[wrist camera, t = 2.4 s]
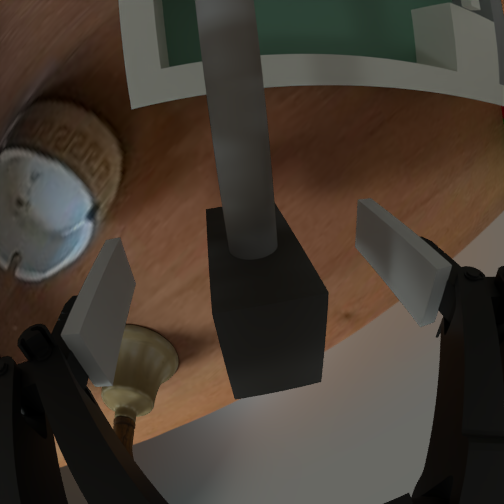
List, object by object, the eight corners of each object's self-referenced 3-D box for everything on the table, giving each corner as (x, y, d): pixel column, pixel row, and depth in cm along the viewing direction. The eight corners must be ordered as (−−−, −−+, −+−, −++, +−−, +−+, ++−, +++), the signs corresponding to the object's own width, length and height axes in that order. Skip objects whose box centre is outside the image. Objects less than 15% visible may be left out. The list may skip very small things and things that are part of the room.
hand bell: (76, 350, 24) (41, 506, 11) (126, 308, 23) (95, 507, 9) (141, 392, 28) (136, 534, 15) (197, 359, 27) (210, 530, 13)
